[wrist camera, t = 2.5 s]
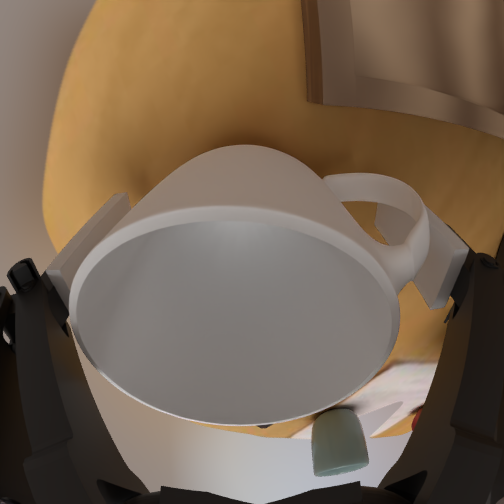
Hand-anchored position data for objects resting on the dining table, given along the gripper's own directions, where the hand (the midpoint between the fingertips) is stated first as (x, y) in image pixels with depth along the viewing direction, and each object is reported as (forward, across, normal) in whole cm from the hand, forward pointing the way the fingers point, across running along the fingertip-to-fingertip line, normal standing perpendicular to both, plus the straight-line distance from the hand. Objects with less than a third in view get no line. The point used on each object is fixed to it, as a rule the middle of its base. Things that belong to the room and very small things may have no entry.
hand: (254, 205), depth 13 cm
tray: (+3, -12, -14) cm, 19 cm away
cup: (+3, -10, +35) cm, 37 cm away
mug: (+3, 0, 0) cm, 3 cm away
